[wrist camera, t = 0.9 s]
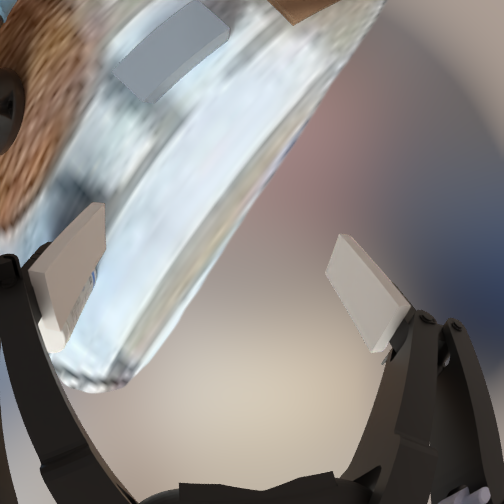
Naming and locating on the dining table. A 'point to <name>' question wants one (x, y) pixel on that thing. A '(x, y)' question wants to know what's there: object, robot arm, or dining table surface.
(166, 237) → the dining table surface
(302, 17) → the board
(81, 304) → the supplement tub
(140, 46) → the block
